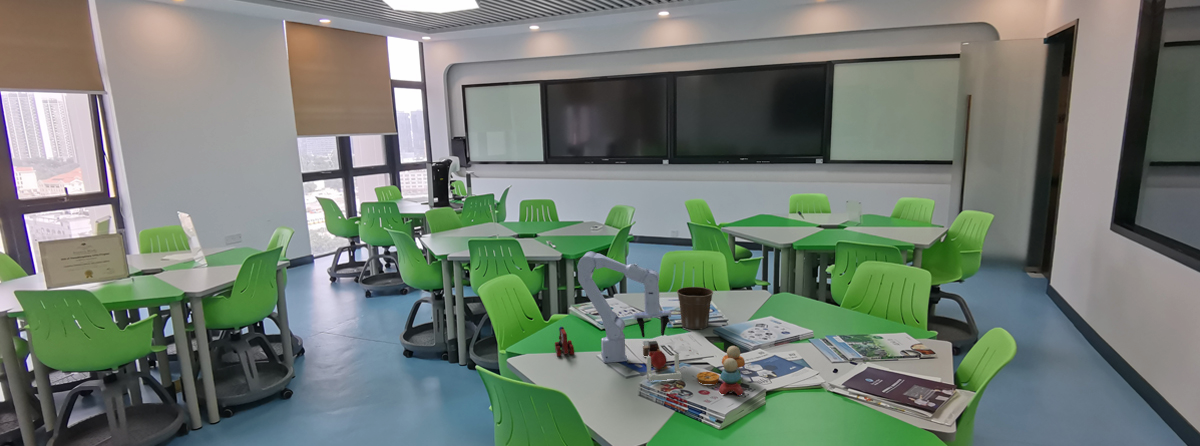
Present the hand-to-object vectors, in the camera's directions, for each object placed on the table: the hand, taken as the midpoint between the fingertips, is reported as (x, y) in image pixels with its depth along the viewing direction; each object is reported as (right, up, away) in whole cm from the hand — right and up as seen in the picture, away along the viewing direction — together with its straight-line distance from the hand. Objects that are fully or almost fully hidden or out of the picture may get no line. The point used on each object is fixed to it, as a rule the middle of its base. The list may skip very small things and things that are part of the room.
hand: (652, 335), depth 230 cm
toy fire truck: (-35, -10, +13) cm, 39 cm away
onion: (+2, -11, -8) cm, 14 cm away
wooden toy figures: (+22, -13, -24) cm, 35 cm away
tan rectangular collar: (0, -9, +5) cm, 11 cm away
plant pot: (+23, -3, +39) cm, 46 cm away
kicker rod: (0, -9, +6) cm, 11 cm away
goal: (+3, -12, -16) cm, 21 cm away
